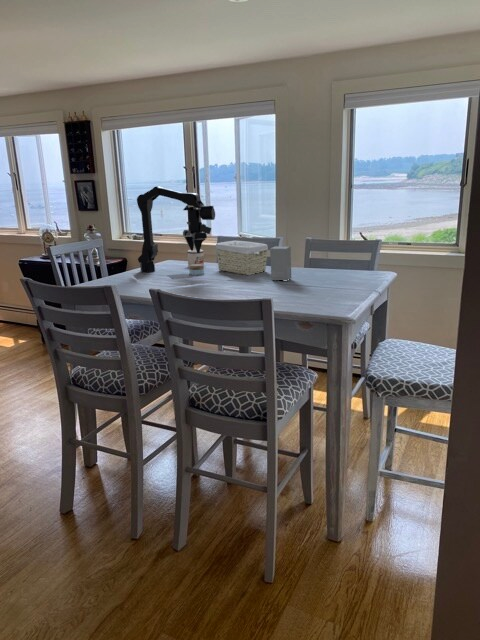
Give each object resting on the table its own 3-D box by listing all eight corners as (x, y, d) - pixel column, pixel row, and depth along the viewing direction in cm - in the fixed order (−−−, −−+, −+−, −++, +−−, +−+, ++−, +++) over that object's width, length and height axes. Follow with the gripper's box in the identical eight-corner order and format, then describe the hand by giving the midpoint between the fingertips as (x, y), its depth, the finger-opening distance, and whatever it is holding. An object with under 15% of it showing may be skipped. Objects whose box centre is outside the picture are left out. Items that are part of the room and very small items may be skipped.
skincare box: (291, 279, 225) (292, 246, 220) (286, 282, 218) (287, 248, 214) (275, 278, 228) (275, 245, 224) (269, 281, 222) (269, 247, 217)
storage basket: (269, 271, 244) (269, 243, 240) (248, 276, 233) (247, 246, 229) (236, 266, 260) (236, 239, 256) (215, 270, 249) (214, 243, 245)
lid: (192, 270, 232) (192, 267, 232) (187, 268, 238) (187, 265, 238) (205, 269, 235) (205, 265, 235) (200, 266, 241) (200, 263, 241)
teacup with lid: (196, 269, 254) (195, 247, 251) (184, 267, 260) (183, 246, 256) (211, 265, 263) (210, 245, 260) (199, 264, 269) (198, 243, 265)
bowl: (192, 277, 233) (192, 270, 232) (187, 274, 240) (187, 268, 239) (206, 276, 236) (205, 269, 235) (201, 273, 242) (200, 266, 241)
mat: (173, 280, 225) (172, 278, 225) (166, 277, 234) (166, 275, 233) (192, 278, 229) (192, 276, 229) (186, 275, 238) (186, 273, 237)
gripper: (216, 220, 225) (217, 252, 230) (202, 217, 242) (203, 248, 246) (194, 221, 221) (195, 254, 225) (181, 218, 237) (183, 249, 241)
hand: (195, 251), depth 235 cm, fingers open, 9 cm apart
